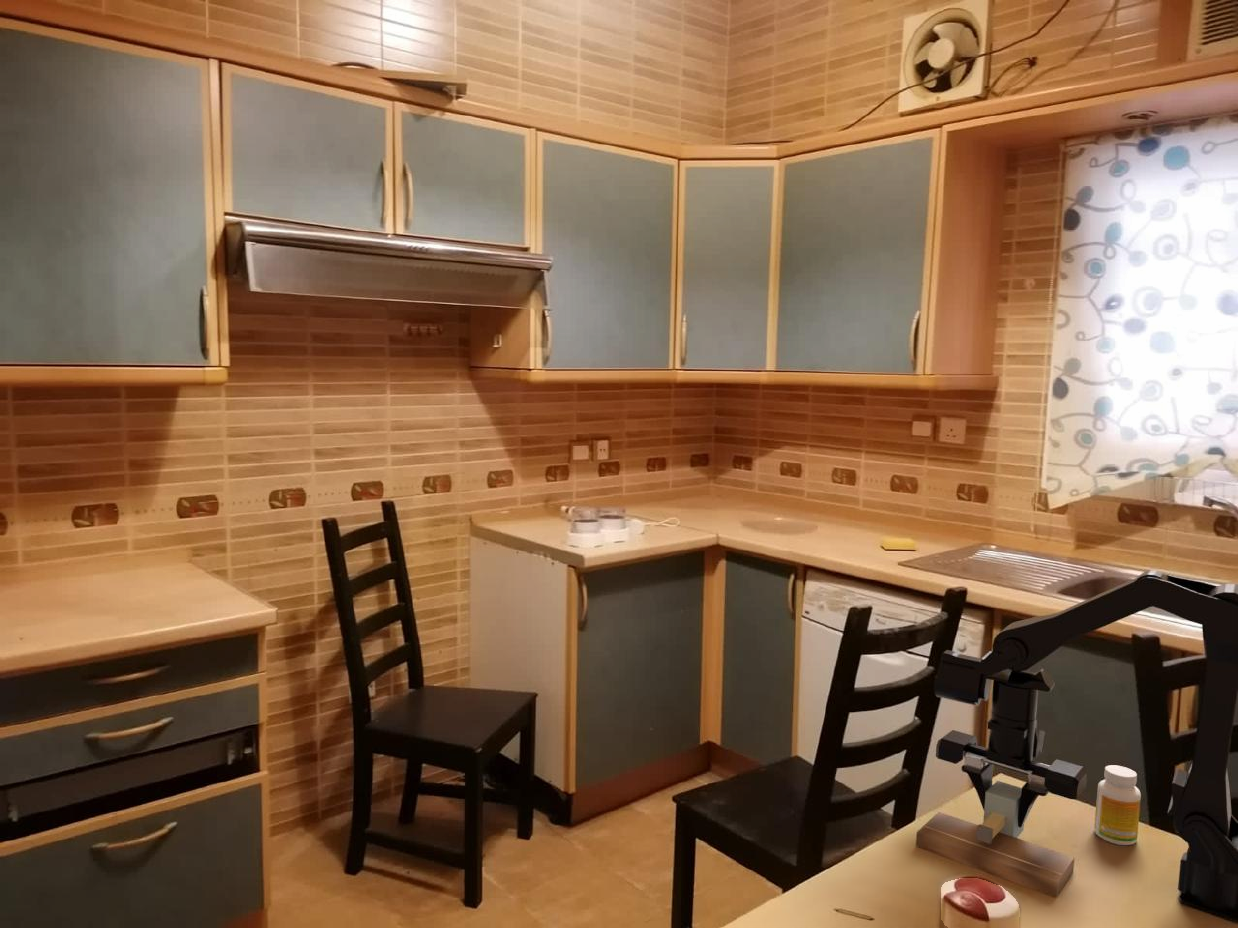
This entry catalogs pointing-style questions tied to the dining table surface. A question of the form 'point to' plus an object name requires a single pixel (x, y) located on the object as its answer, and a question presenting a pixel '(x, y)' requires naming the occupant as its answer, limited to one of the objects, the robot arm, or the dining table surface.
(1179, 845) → the dining table surface
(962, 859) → the board
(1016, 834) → the light blue block
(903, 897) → the dining table surface
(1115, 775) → the supplement bottle
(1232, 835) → the robot arm
